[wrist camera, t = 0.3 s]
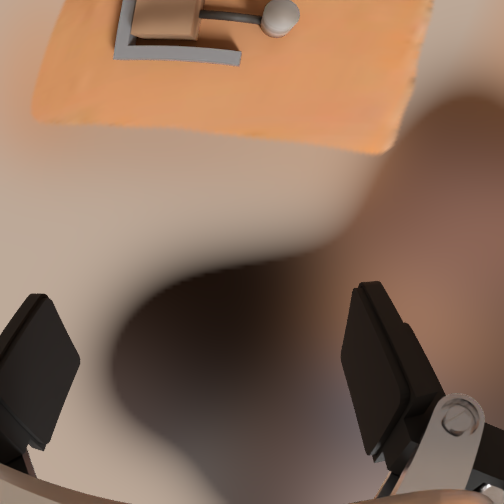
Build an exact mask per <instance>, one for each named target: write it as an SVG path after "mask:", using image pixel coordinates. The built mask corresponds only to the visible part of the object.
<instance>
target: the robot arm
mask: <svg viewBox="0 0 504 504" xmlns="http://www.w3.org/2000/svg"><path fill="white" fill-rule="evenodd" d="M341 362H342V366H343V370H344V373H345V376H346V380H347V384H348V387H349V391H350V395H351V398H352V402H353V406H354V409H355V413H356V417H357V421H358V424H359V428H360V432H361V436H362V440H363V444H364V448H365V451H366V453H367V455H372V457H373V460H374V463H376V462H381V461H385V462H386V465H387V469H388V470H389V473H388V475H387V477H386V478H385V480H384V482H383V484H382V485H381V487H380V489H379V491H378V492H377V494H376V496H375V497H374V499H371V500H366V501H359V502H354V503H349V504H504V430H501V429H499V428H497V427H494V426H492V425H490V424H487V423H485V422H484V420H485V417H484V413H483V410H482V408H481V407H480V405H479V403H477V402H476V401H475V400H474V399H473V398H471V397H469V396H467V395H464V394H460V393H457V394H450V395H447V396H446V395H445V393H444V391H443V389H442V387H441V384H440V382H439V380H438V379H437V376H436V374H435V372H434V370H433V368H432V367H431V364H430V362H429V360H428V358H427V357H426V355H425V353H424V351H423V349H422V347H421V345H420V343H419V341H418V339H417V338H416V336H415V334H414V333H413V330H412V329H411V327H410V326H409V324H407V323H403V321H402V319H401V317H400V315H399V314H398V312H397V310H396V308H395V306H394V305H393V303H392V301H391V299H390V298H389V296H388V294H387V292H386V291H385V289H384V287H383V285H382V284H381V282H379V281H373V282H361V283H360V284H359V286H358V288H354V289H353V291H352V297H351V303H350V309H349V315H348V319H347V325H346V330H345V335H344V340H343V345H342V350H341ZM79 365H80V357H79V354H78V353H77V351H76V349H75V347H74V345H73V343H72V341H71V339H70V337H69V335H68V333H67V331H66V329H65V327H64V325H63V323H62V321H61V319H60V317H59V315H58V313H57V310H56V308H55V306H54V304H53V302H52V300H50V299H49V298H48V296H47V295H46V294H30V295H29V296H28V297H27V298H26V300H25V301H24V302H23V304H22V305H21V307H20V308H19V309H18V310H17V312H16V313H15V315H14V316H13V317H12V319H11V320H10V322H9V323H8V325H7V326H6V327H5V329H4V330H3V332H2V334H1V335H0V504H129V503H124V502H119V501H114V500H110V499H105V498H101V497H97V496H93V495H89V494H85V493H82V492H78V491H75V490H71V489H68V488H65V487H61V486H58V485H55V484H52V483H49V482H46V481H43V480H41V479H38V478H37V476H36V473H35V471H34V468H33V465H32V462H31V459H30V456H29V453H28V450H27V445H28V444H29V445H30V446H31V447H32V448H35V449H38V450H42V451H44V449H45V447H46V444H47V443H49V442H50V440H51V436H52V434H53V431H54V428H55V426H56V423H57V420H58V418H59V415H60V412H61V410H62V407H63V405H64V402H65V399H66V397H67V394H68V392H69V390H70V387H71V385H72V382H73V380H74V377H75V375H76V373H77V370H78V368H79Z"/></svg>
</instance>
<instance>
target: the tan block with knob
mask: <svg viewBox="0 0 504 504" xmlns="http://www.w3.org/2000/svg"><path fill="white" fill-rule="evenodd" d="M204 2H205V0H137V1H136V6H135V11H134V16H133V22H132V28H131V34H132V35H134V36H137V37H140V38H142V39H145V40H189V41H197V40H198V34H199V28H200V23H201V19H216V20H227V21H236V22H245V23H252V24H259V25H261V29H262V31H263V32H264V33H265V34H266V35H268V36H270V37H273V38H279V37H283V36H285V35H286V34H287V33H288V32H289V31H290V30H291V29H292V28H293V26H294V25H295V24H296V23H297V22H298V20H299V17H300V12H299V9H298V7H297V5H296V4H295V3H293V2H292V1H290V0H272V1H270V2H269V3H268V4H267V5H266V6H265V9H264V12H263V16H256V15H249V14H241V13H232V12H222V11H209V10H203V7H204Z"/></svg>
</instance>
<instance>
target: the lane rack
mask: <svg viewBox="0 0 504 504" xmlns="http://www.w3.org/2000/svg"><path fill="white" fill-rule="evenodd" d="M136 1H137V0H123V3H122V8H121V13H120V18H119V24H118V30H117V36H116V42H115V49H114V57H113V59H115V60H167V61H187V62H201V63H212V64H222V65H231V66H240V60H241V54H242V53H241V52H240V51H232V50H223V49H213V48H201V47H185V46H135V45H136V39H137V36H134V35H132V34H131V28H132V22H133V16H134V11H135V6H136Z"/></svg>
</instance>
